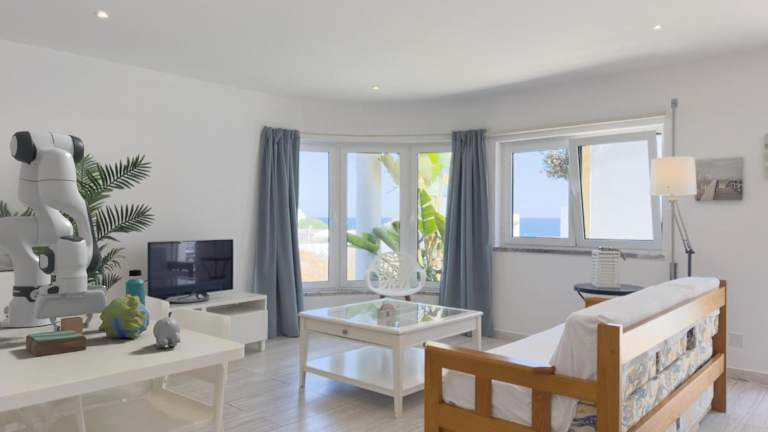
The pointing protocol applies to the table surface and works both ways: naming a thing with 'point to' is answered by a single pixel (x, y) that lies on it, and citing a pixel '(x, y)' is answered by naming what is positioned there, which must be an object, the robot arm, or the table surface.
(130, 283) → the beverage bottle
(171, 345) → the round bodied animal figurine
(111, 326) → the earth globe model
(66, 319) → the terracotta block
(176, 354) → the table surface
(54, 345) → the green lidded wooden box
